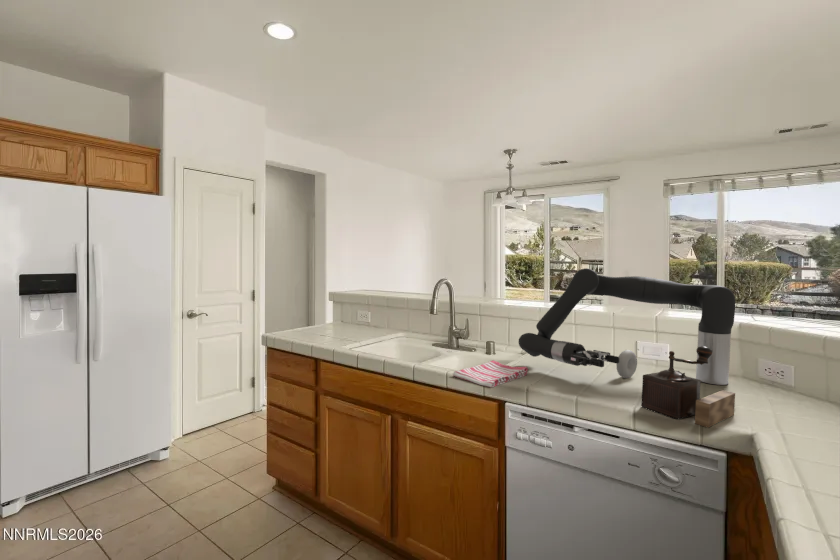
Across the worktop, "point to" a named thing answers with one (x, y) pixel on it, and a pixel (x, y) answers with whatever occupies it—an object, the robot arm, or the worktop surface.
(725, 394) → the block
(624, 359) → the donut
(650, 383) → the manual coffee grinder
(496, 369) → the dish towel
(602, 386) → the worktop surface
